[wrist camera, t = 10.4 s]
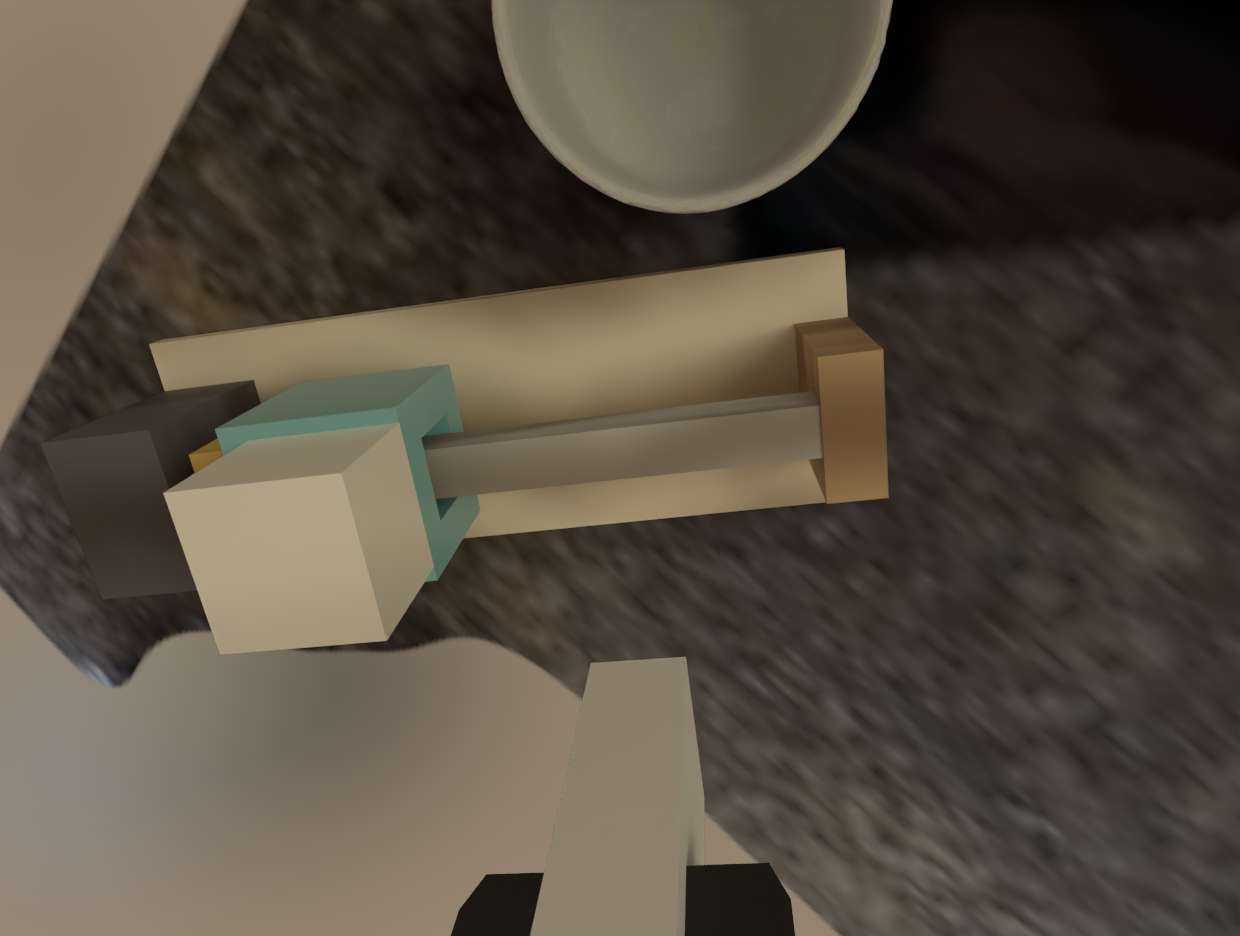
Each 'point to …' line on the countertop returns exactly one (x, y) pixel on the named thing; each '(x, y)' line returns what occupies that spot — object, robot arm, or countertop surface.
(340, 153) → the countertop surface
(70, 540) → the countertop surface
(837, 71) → the teacup
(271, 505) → the sleeve
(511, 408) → the rail
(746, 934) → the robot arm
